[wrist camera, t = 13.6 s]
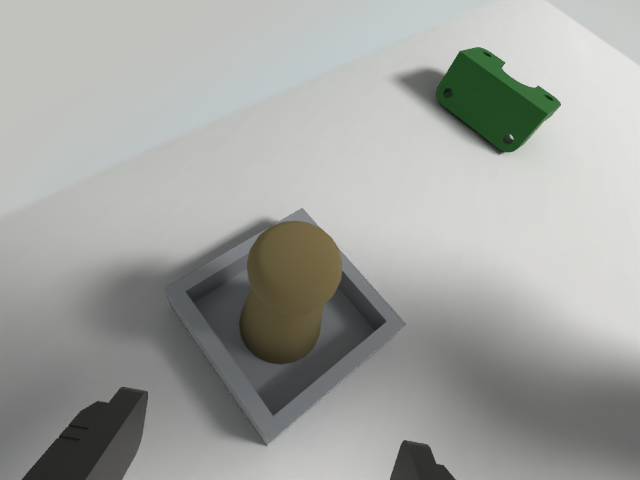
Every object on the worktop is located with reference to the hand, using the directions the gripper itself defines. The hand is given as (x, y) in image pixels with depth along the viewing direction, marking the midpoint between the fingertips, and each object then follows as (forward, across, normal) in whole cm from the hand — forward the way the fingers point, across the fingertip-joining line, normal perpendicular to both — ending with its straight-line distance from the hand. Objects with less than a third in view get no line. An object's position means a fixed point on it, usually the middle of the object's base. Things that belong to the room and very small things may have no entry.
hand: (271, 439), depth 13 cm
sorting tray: (+18, 0, +4) cm, 18 cm away
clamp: (+39, -18, -16) cm, 46 cm away
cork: (+17, 0, +4) cm, 18 cm away
